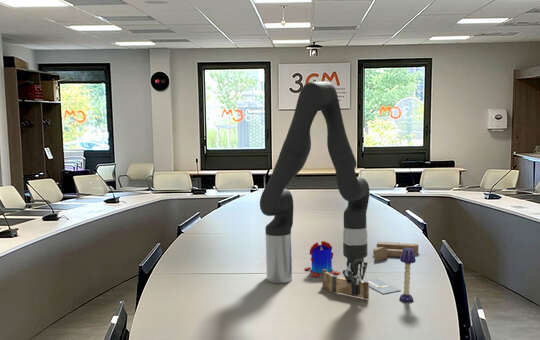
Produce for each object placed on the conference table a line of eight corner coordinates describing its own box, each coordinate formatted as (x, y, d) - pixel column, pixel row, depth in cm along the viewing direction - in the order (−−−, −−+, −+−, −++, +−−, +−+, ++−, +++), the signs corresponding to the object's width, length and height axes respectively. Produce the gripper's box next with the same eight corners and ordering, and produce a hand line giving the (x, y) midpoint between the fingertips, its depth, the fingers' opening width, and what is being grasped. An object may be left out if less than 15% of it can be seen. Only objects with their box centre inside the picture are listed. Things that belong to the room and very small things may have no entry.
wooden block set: (375, 238, 211) (418, 241, 205) (375, 251, 211) (418, 254, 206) (371, 248, 194) (418, 251, 189) (371, 262, 195) (417, 265, 190)
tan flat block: (321, 286, 167) (321, 269, 166) (325, 285, 167) (325, 268, 167) (331, 292, 161) (331, 274, 160) (335, 291, 161) (335, 274, 161)
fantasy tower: (312, 278, 176) (312, 246, 175) (302, 269, 187) (301, 239, 186) (342, 275, 179) (342, 243, 178) (330, 266, 190) (329, 236, 189)
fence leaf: (331, 291, 160) (331, 276, 159) (333, 290, 161) (333, 275, 161) (367, 299, 152) (367, 283, 152) (369, 297, 154) (369, 281, 153)
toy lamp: (412, 297, 154) (412, 246, 153) (417, 302, 150) (417, 250, 148) (397, 297, 154) (397, 247, 153) (402, 303, 150) (402, 250, 148)
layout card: (359, 281, 171) (359, 280, 171) (376, 278, 173) (376, 277, 173) (383, 294, 158) (383, 293, 158) (400, 290, 160) (400, 289, 160)
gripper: (354, 235, 158) (354, 287, 160) (334, 244, 147) (334, 299, 149) (375, 238, 153) (375, 291, 155) (356, 247, 143) (356, 303, 144)
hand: (355, 295), depth 152 cm, fingers closed
